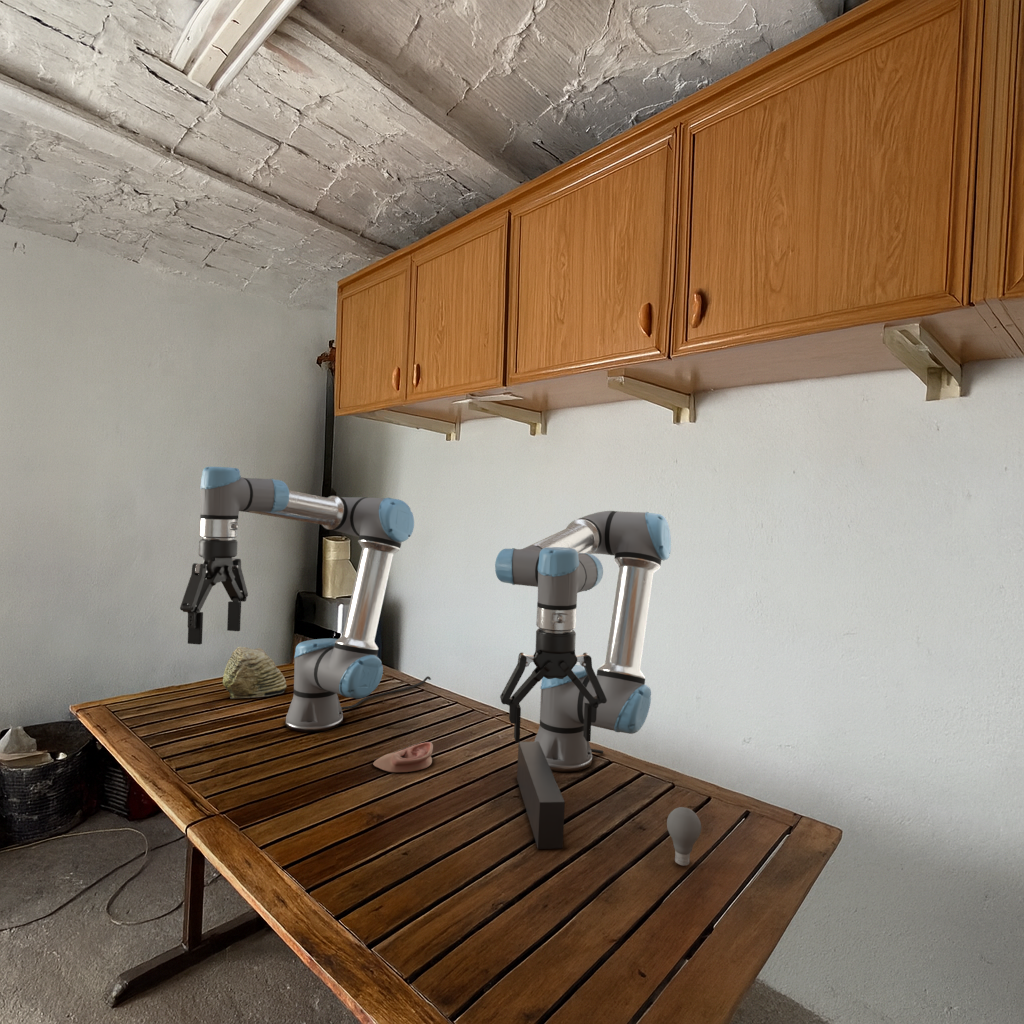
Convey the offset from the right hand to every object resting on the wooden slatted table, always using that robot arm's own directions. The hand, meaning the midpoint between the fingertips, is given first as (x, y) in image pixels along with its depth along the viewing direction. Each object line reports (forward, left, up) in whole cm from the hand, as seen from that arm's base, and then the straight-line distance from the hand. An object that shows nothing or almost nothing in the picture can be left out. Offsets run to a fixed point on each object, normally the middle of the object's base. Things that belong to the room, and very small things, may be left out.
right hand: (552, 739), depth 121 cm
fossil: (+43, -108, -19) cm, 118 cm away
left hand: (+57, -47, +13) cm, 75 cm away
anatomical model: (+15, -42, -19) cm, 49 cm away
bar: (-4, -10, -19) cm, 22 cm away
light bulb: (-18, +17, -19) cm, 31 cm away
